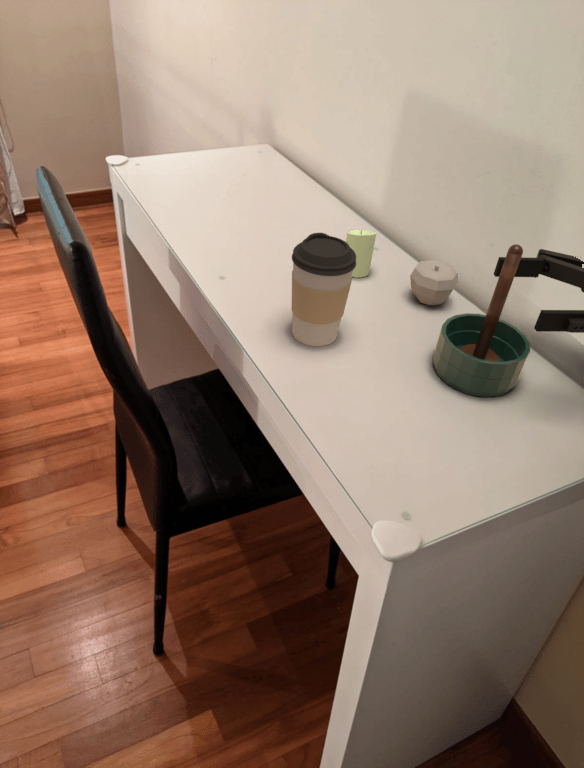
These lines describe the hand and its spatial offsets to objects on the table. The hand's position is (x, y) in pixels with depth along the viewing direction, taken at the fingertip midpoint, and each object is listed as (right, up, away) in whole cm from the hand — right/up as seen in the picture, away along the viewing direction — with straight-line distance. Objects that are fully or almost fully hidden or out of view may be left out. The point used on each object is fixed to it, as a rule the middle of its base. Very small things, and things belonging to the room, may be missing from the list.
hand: (516, 292), depth 81 cm
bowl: (-3, -10, +8) cm, 14 cm away
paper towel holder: (-3, -10, +8) cm, 13 cm away
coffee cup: (-26, -5, +12) cm, 29 cm away
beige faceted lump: (-7, +2, +23) cm, 24 cm away
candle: (-18, +8, +29) cm, 35 cm away
